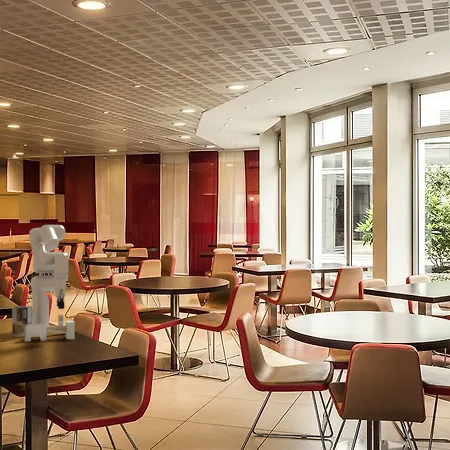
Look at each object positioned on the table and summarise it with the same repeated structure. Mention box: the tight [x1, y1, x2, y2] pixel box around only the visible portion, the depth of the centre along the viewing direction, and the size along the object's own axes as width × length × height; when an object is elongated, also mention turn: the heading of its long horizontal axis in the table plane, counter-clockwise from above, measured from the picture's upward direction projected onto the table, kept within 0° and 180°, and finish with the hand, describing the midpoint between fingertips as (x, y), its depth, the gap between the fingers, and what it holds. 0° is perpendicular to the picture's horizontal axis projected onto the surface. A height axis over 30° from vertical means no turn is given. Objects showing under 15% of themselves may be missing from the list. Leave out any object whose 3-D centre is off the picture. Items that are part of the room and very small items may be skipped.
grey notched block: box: [24, 324, 48, 342], centre depth 354 cm, size 8×11×8 cm
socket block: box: [65, 320, 76, 340], centre depth 360 cm, size 8×4×9 cm, turn 18°
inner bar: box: [47, 314, 67, 335], centre depth 357 cm, size 4×17×10 cm, turn 108°
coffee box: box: [11, 305, 32, 338], centre depth 367 cm, size 9×6×16 cm
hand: (60, 307), depth 359 cm, fingers open, 9 cm apart
